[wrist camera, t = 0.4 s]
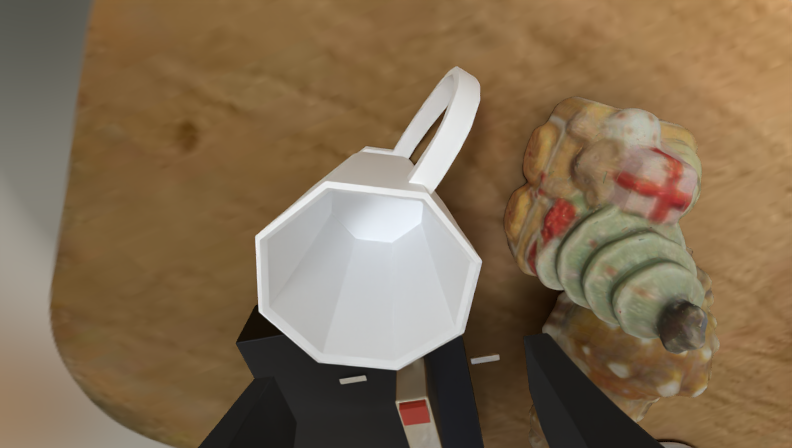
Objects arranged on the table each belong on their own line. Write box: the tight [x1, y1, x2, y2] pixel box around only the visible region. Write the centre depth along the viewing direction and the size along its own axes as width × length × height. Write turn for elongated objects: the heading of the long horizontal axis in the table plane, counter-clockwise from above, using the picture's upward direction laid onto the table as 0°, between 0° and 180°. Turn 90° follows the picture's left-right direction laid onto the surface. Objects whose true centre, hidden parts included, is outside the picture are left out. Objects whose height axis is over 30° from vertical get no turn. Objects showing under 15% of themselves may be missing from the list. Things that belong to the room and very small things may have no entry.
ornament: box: [504, 97, 708, 354], centre depth 14 cm, size 8×6×10 cm
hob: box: [236, 305, 500, 448], centre depth 23 cm, size 13×13×3 cm
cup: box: [255, 66, 482, 370], centre depth 15 cm, size 7×10×8 cm
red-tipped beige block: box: [395, 353, 443, 448], centre depth 18 cm, size 4×1×4 cm, turn 13°
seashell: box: [529, 247, 719, 448], centre depth 20 cm, size 9×8×10 cm
